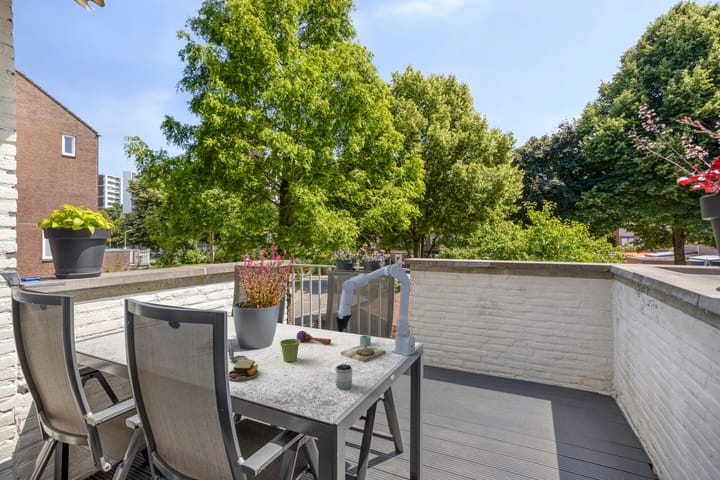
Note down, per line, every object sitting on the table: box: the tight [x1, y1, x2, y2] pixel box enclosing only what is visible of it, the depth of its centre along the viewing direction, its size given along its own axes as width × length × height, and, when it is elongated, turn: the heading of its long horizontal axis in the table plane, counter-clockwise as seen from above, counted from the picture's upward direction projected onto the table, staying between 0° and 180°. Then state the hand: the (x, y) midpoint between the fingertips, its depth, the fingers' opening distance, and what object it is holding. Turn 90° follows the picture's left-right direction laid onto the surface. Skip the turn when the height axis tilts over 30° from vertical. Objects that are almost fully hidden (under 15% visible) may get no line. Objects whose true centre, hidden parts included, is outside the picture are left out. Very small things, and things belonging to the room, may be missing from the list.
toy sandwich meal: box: [229, 358, 259, 382], centre depth 143 cm, size 12×14×5 cm
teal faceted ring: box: [359, 334, 372, 346], centre depth 185 cm, size 6×6×4 cm
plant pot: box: [279, 338, 301, 363], centre depth 161 cm, size 9×9×9 cm
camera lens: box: [335, 363, 353, 391], centre depth 132 cm, size 6×6×8 cm
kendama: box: [295, 330, 332, 346], centre depth 188 cm, size 6×6×20 cm
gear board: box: [340, 340, 387, 363], centre depth 169 cm, size 15×16×6 cm
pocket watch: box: [228, 339, 248, 363], centre depth 160 cm, size 8×8×10 cm
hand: (342, 329), depth 176 cm, fingers open, 7 cm apart
